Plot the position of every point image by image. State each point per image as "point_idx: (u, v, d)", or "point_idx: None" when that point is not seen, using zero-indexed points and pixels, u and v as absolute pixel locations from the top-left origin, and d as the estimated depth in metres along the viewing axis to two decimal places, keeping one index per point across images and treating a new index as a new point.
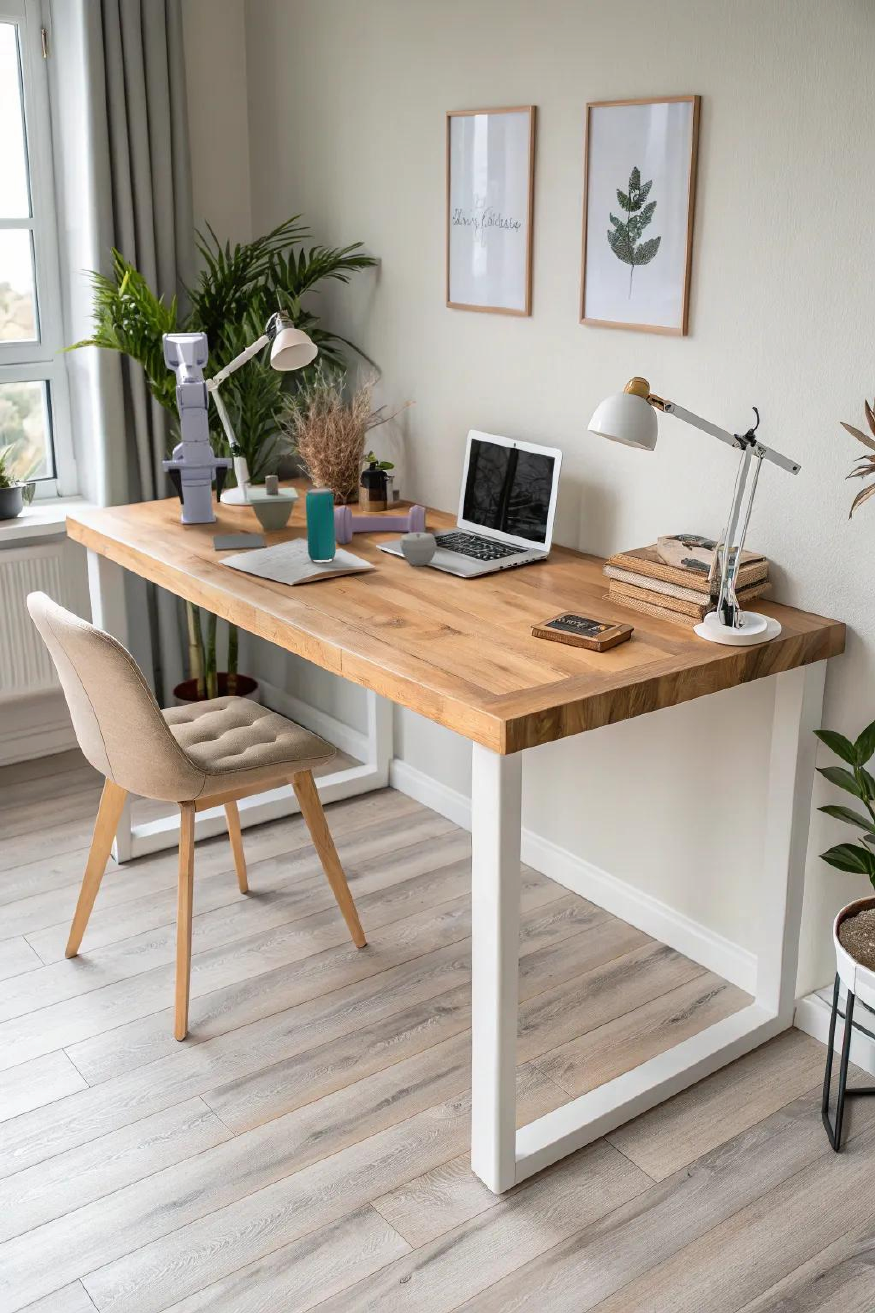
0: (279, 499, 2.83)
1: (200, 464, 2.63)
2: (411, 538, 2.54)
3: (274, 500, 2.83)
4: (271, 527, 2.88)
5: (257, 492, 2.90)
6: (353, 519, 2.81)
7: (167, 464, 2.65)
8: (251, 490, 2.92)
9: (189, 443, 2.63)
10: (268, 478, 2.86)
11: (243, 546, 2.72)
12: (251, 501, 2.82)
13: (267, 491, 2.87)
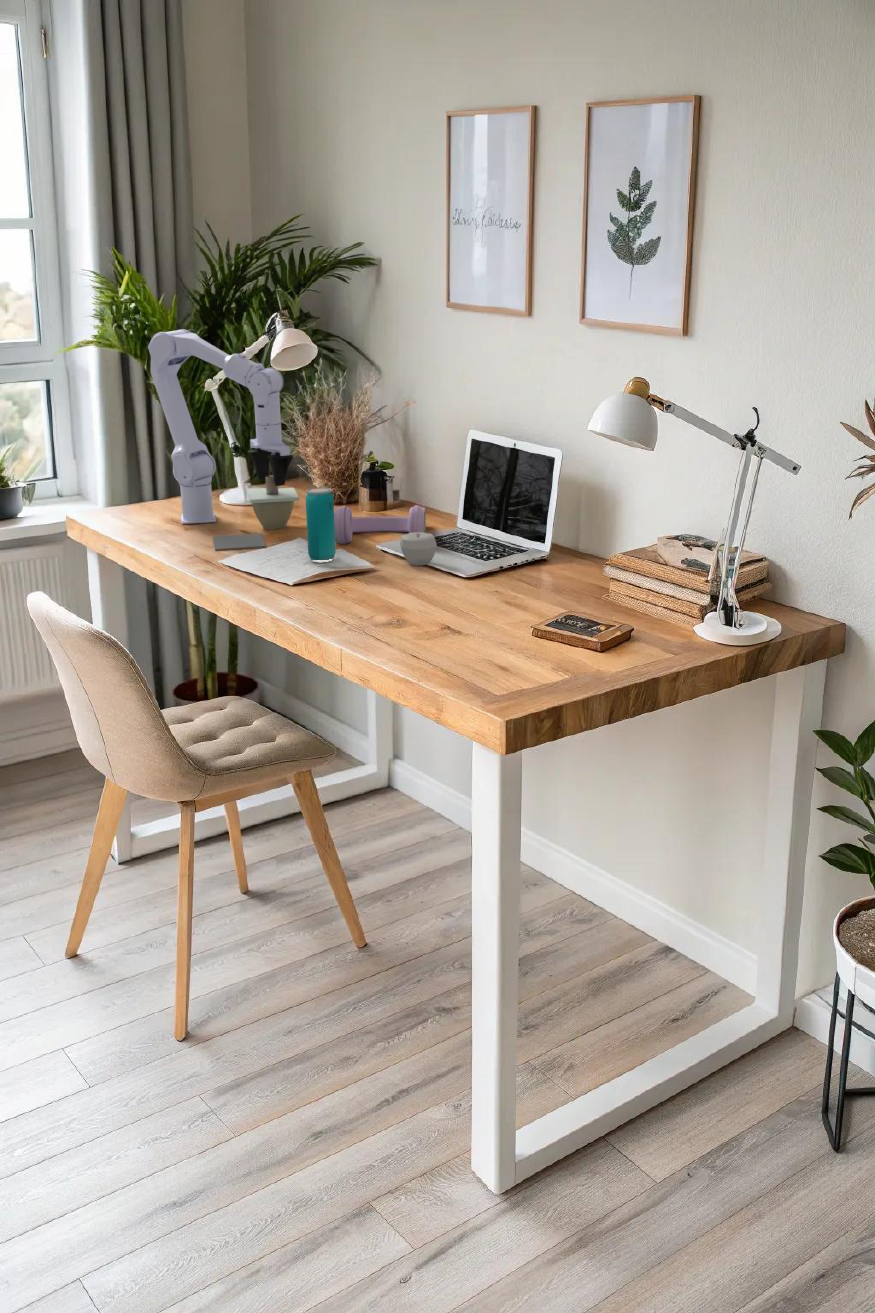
0: (279, 499, 2.83)
1: (255, 446, 2.82)
2: (411, 538, 2.54)
3: (274, 500, 2.83)
4: (271, 527, 2.88)
5: (257, 492, 2.90)
6: (353, 519, 2.81)
7: (251, 441, 2.89)
8: (251, 490, 2.92)
9: None
10: (268, 478, 2.86)
11: (243, 546, 2.72)
12: (251, 501, 2.82)
13: (267, 491, 2.87)
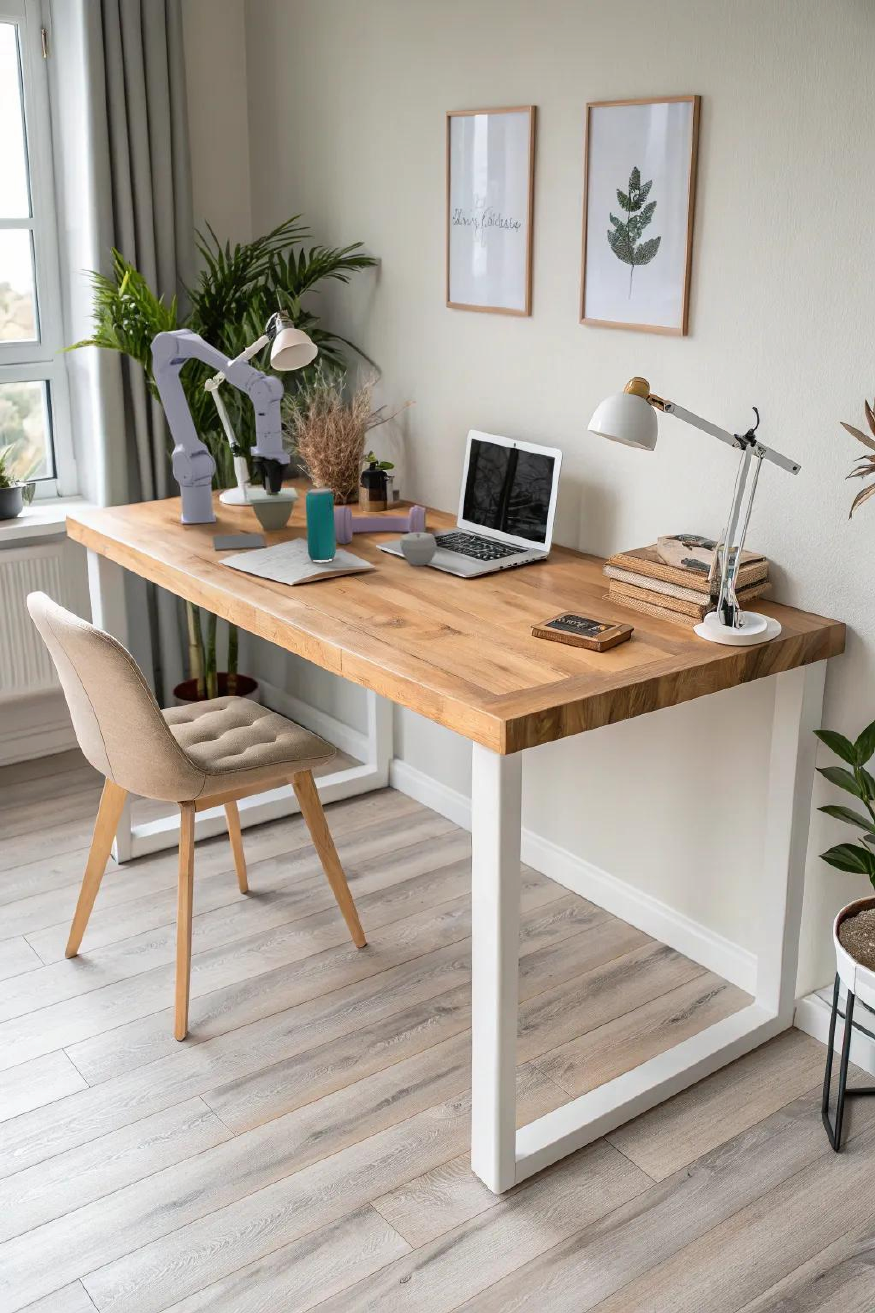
0: (279, 499, 2.83)
1: (256, 454, 2.82)
2: (411, 538, 2.54)
3: (274, 500, 2.83)
4: (271, 527, 2.88)
5: (257, 492, 2.90)
6: (353, 519, 2.81)
7: (252, 449, 2.89)
8: (251, 490, 2.92)
9: (256, 433, 2.83)
10: (268, 478, 2.86)
11: (243, 546, 2.72)
12: (251, 501, 2.82)
13: (267, 491, 2.87)
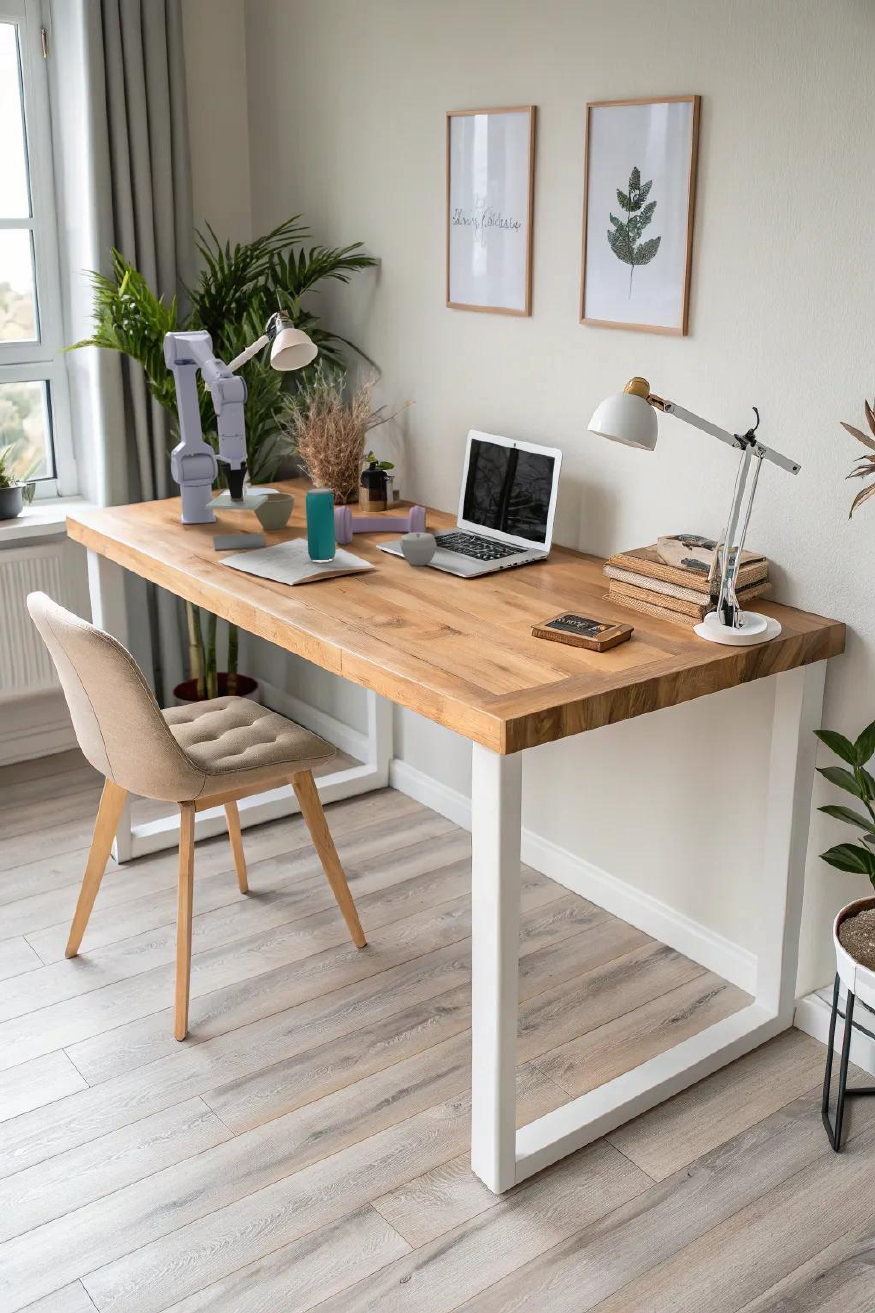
0: (234, 507, 2.69)
1: (215, 457, 2.69)
2: (411, 538, 2.54)
3: (229, 507, 2.69)
4: (271, 527, 2.88)
5: (225, 498, 2.76)
6: (353, 519, 2.81)
7: None
8: (223, 495, 2.79)
9: None
10: None
11: (243, 546, 2.72)
12: (206, 507, 2.70)
13: (230, 497, 2.73)
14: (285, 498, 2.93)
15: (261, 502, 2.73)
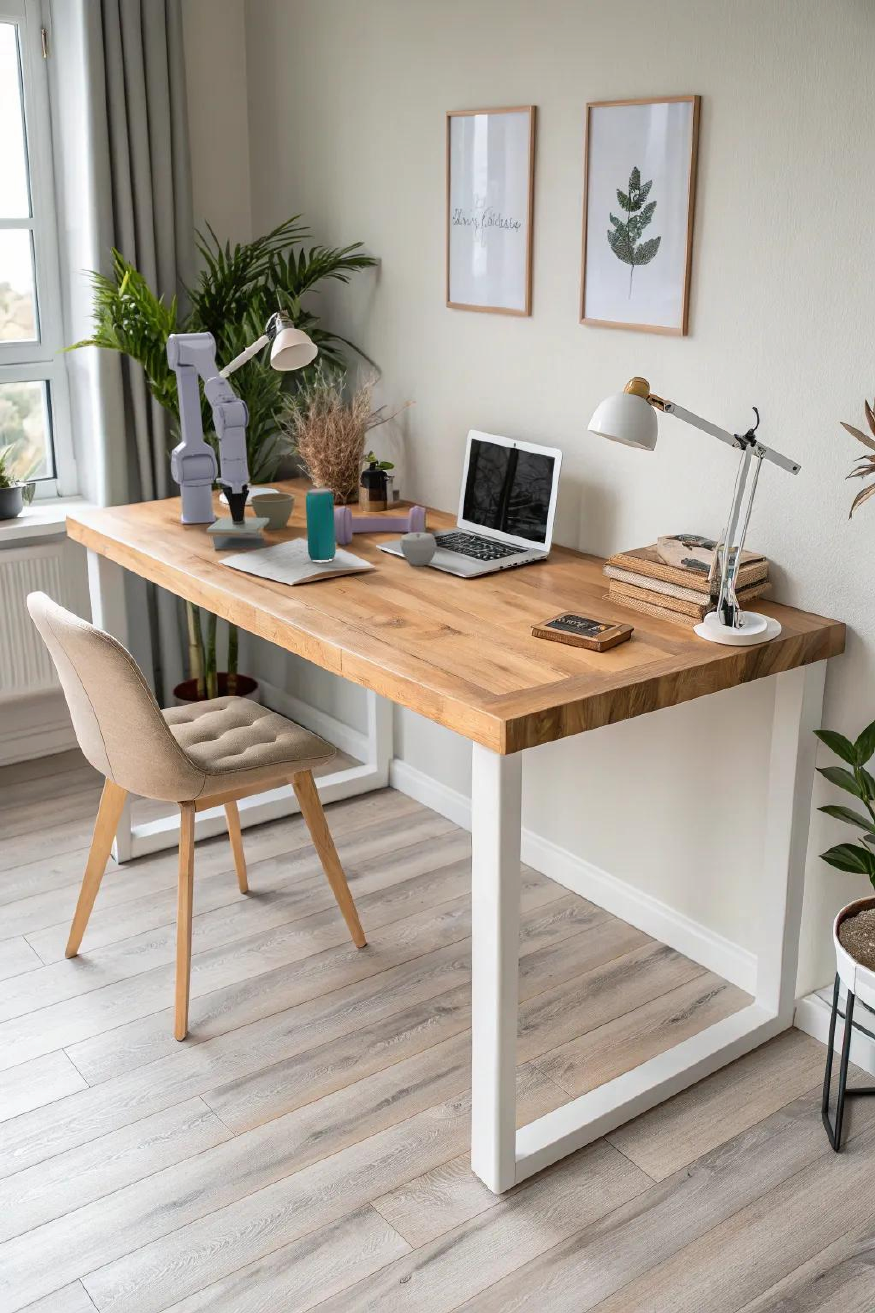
0: (236, 530, 2.70)
1: (216, 480, 2.71)
2: (411, 538, 2.54)
3: (231, 531, 2.71)
4: (271, 527, 2.88)
5: (227, 520, 2.78)
6: (353, 520, 2.81)
7: None
8: (225, 517, 2.81)
9: None
10: None
11: (243, 546, 2.72)
12: (208, 530, 2.71)
13: (232, 520, 2.75)
14: (285, 498, 2.93)
15: (262, 525, 2.75)
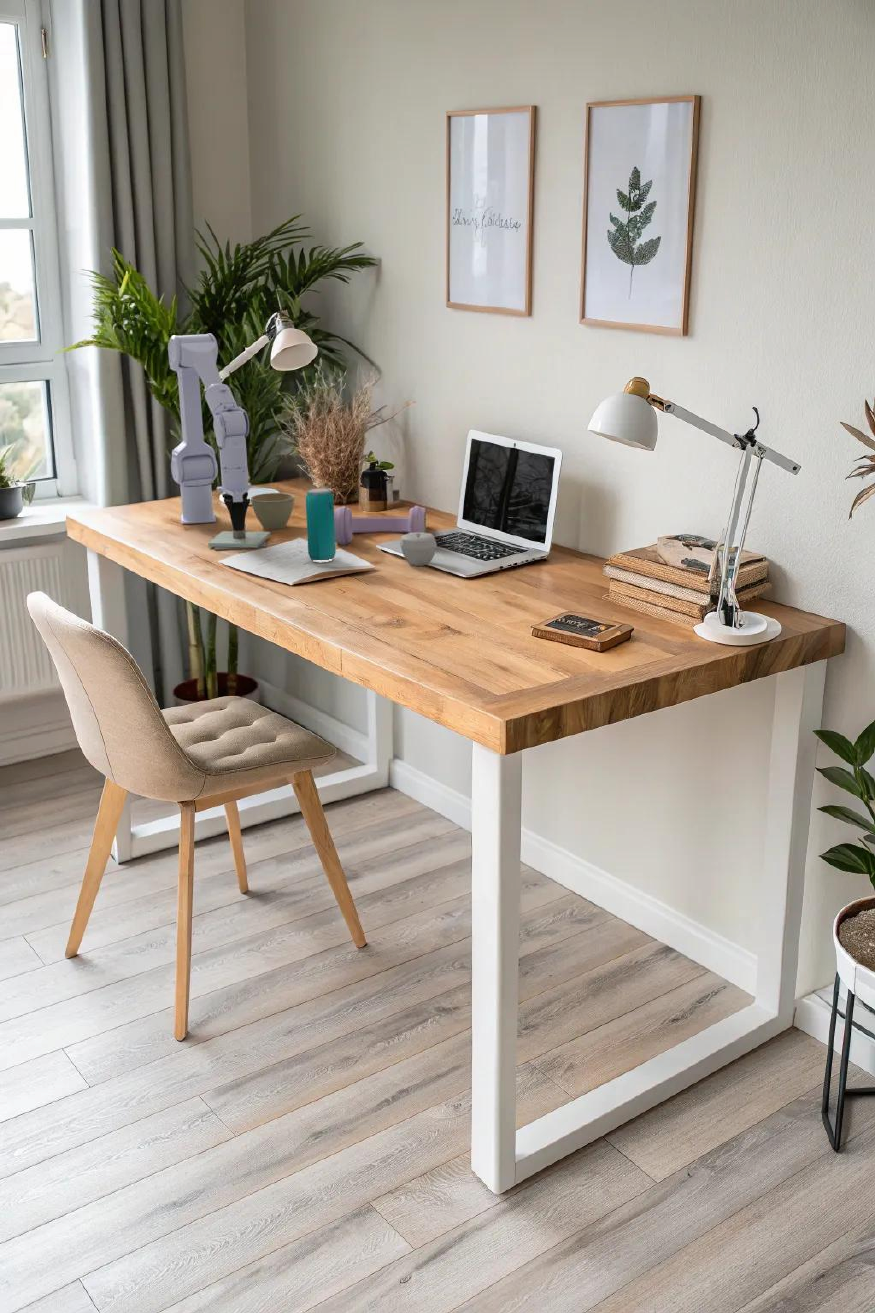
0: (237, 544, 2.71)
1: (217, 489, 2.72)
2: (411, 538, 2.54)
3: (232, 545, 2.72)
4: (271, 527, 2.88)
5: (228, 534, 2.79)
6: (353, 520, 2.80)
7: None
8: (226, 531, 2.82)
9: None
10: None
11: None
12: (209, 544, 2.72)
13: (233, 534, 2.76)
14: (285, 498, 2.93)
15: (263, 539, 2.76)
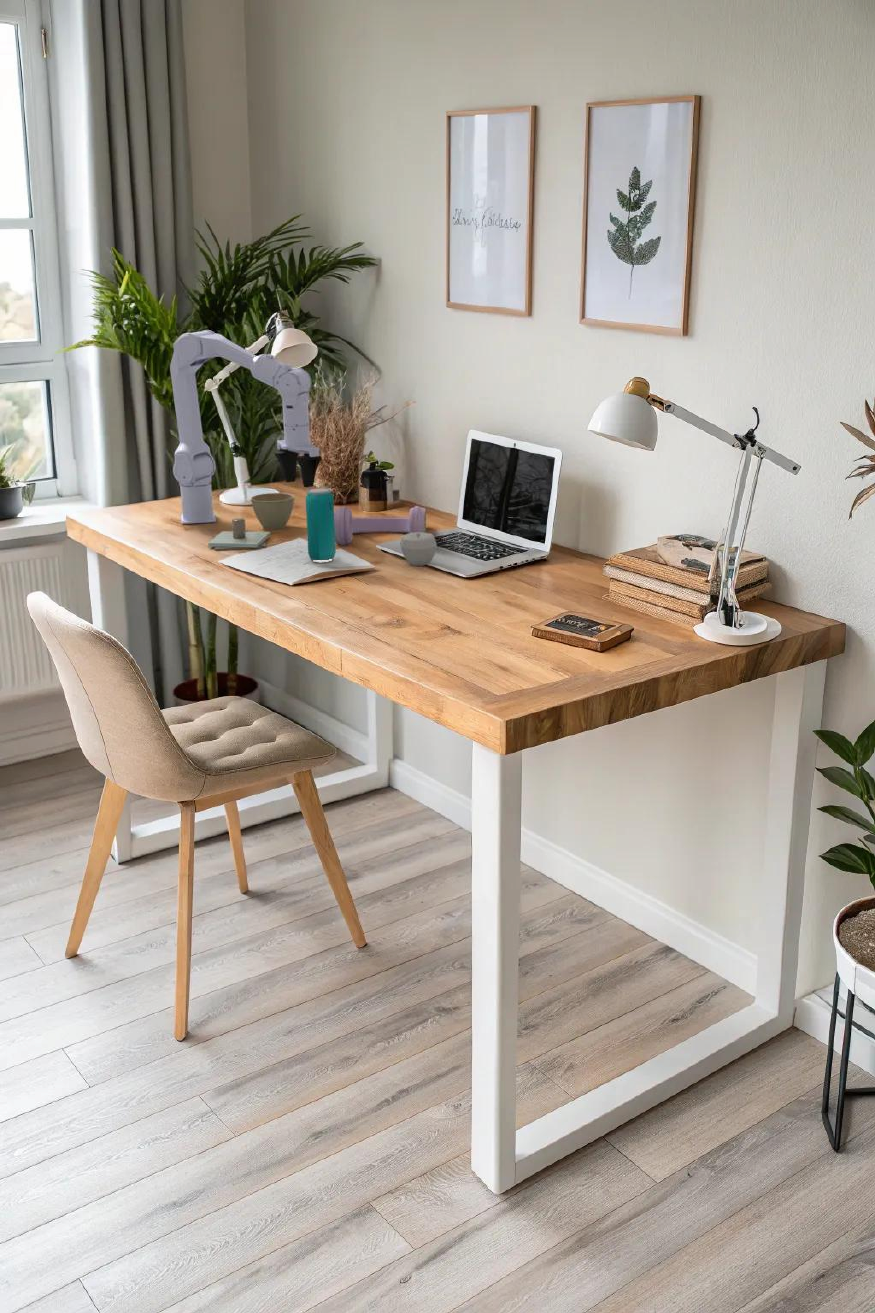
0: (237, 544, 2.71)
1: (283, 447, 2.80)
2: (411, 538, 2.54)
3: (232, 545, 2.72)
4: (271, 527, 2.88)
5: (228, 534, 2.79)
6: (353, 520, 2.80)
7: (278, 442, 2.87)
8: (226, 531, 2.82)
9: None
10: (233, 521, 2.75)
11: None
12: (209, 544, 2.72)
13: (233, 534, 2.76)
14: (285, 498, 2.93)
15: (263, 539, 2.76)
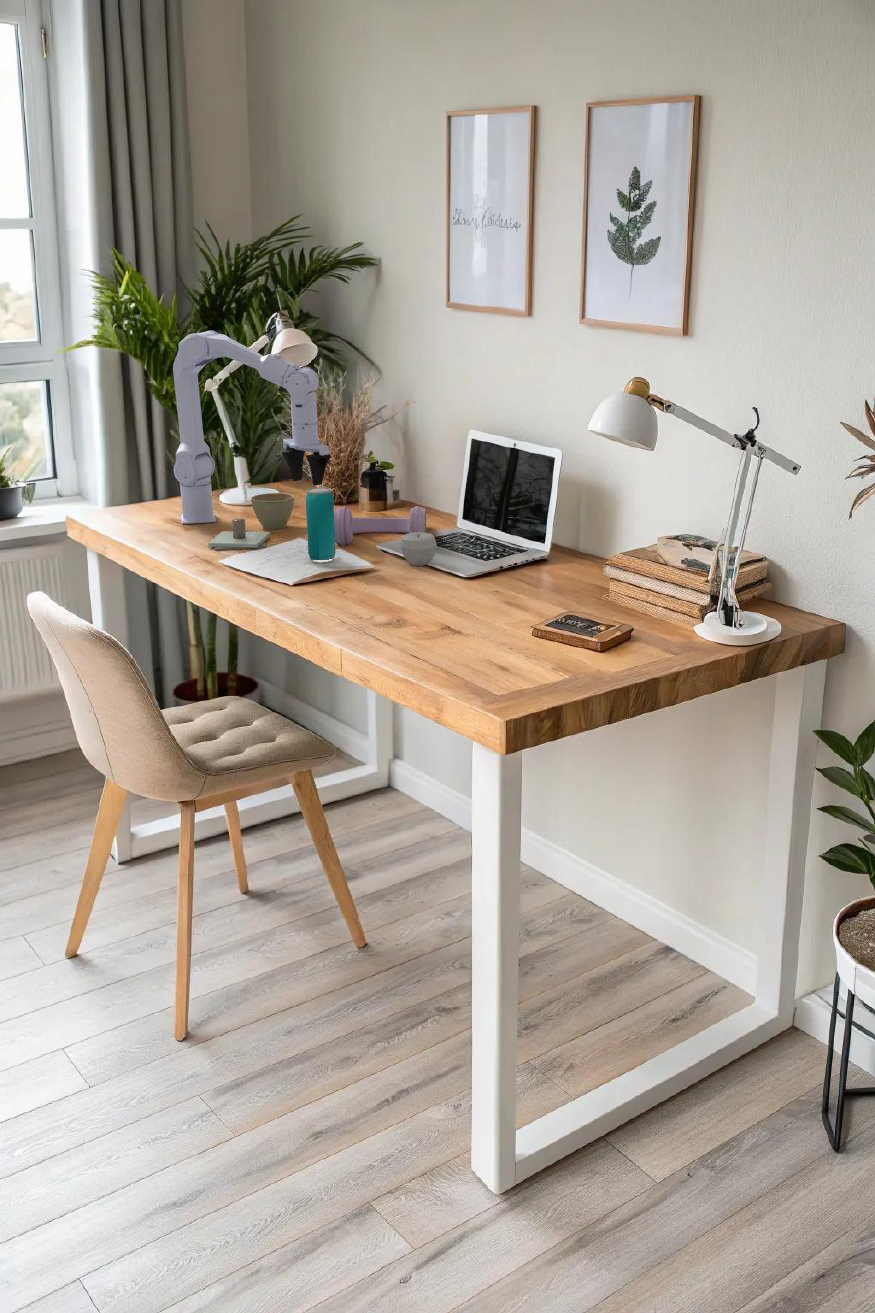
0: (237, 544, 2.71)
1: (293, 446, 2.81)
2: (411, 538, 2.54)
3: (232, 545, 2.72)
4: (271, 527, 2.88)
5: (228, 534, 2.79)
6: (353, 520, 2.80)
7: (285, 441, 2.88)
8: (226, 531, 2.82)
9: (292, 425, 2.82)
10: (233, 521, 2.75)
11: None
12: (209, 544, 2.72)
13: (233, 534, 2.76)
14: (285, 498, 2.93)
15: (263, 539, 2.76)
